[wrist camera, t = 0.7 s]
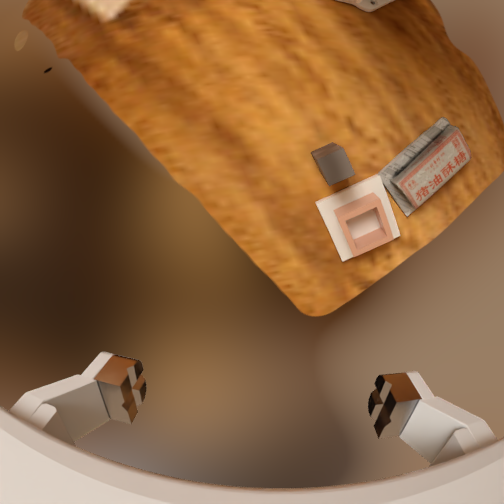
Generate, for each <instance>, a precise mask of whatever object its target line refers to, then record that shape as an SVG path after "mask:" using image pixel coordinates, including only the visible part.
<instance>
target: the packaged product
mask: <svg viewBox="0 0 504 504" xmlns="http://www.w3.org/2000/svg"><path fill="white" fill-rule="evenodd" d="M470 159H471V151H470V149H469V148H468V145H467V143H466V142H465V139H464V137H463V135H462V134H461V132H460V130H459V128H458V127H456V126H452V125H450V123H449V121H448V119H446V118H444V117H441V118H440V119H439V120H438V121H437V122H436V123H435V124H434V125H433V126H431V127H430V128H429V129H428V130H426V131H425V132H424V133H423V134H421V135H420V136H419V137H418V138H417V139H416V140H414V141H413V142H412V143H411V144H410V145H408V146H407V147H406V148H405V149H404V150H403V151H402V152H401V153H399V154H398V155H397V156H396V157H395V158H394V159H393V160H392V161H391V162H390V163H388V164H387V165H386V166H385V167H384V168H383V169H382V170H381V171H380V172H379V173H378V176H379V175H380V178H381V180H382V183H383V185H384V186H385V187H386V188H387V189H388V191H389V192H390V194H391V196H392V197H393V199H394V200H395V202H396V203H397V205H398V206H399V208H400V209H401V210H402V211H403V212H404V213H405V215H406V216H407V217H408V216H409V215H410V214H411V213H412V212H413V211H415V210H416V209H417V208H418V207H420V206H421V205H422V204H423V203H424V202H425V201H426V200H428V199H429V198H430V197H431V196H432V195H433V194H434V193H435V192H436V191H438V190H439V189H440V188H441V187H442V186H443V185H444V184H445V183H446V182H447V181H448V180H449V179H450V178H452V177H453V176H454V175H455V174H456V173H457V172H458V171H459V170H460V169H461V168H462V167H463V166H464V165H465V164H466V163H467V162H468V161H470Z"/></svg>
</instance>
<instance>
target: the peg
mask: <svg viewBox="0 0 504 504" xmlns="http://www.w3.org/2000/svg"><path fill="white" fill-rule="evenodd" d="M311 154H312V156H313V158H314V160H315V162H316V164H317V166H318V168H319V170H320V172H321V174H322V175H323V177H324V179H325V180H326V182H327V183H328V185H329V186H331V185H333V184H335V183H337V182H340V181H342V180H344V179H346V178H349V177H351V176H353V175H355V173H354V170H353V168H352V166H351V164H350V161H349V159H348V157H347V155H346V153H345V150H344V148H343V147H341V146H339V145H337V144H335V143H333V142H332V143H330V144H328V145H326V146H323V147H321V148H319V149H317V150H315V151H313V152H311Z"/></svg>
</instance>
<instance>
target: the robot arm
mask: <svg viewBox="0 0 504 504" xmlns="http://www.w3.org/2000/svg"><path fill="white" fill-rule="evenodd" d="M337 1H341V2H346V3H350V4H353V5H355V6H356V7H358V8H360V9H362V10H364V11H366V12H372V11H374V10H376V9H378V8H380V7H382V6H384V5H386V4H388V3H390V2H393V1H395V0H337ZM371 2H373V3H374V5H373V4H371ZM142 371H143V365H142V362H141V361H140V360H137V359H133V358H128V357H124V356H120V355H115V354H111V353H107V352H101V353H100V354H99V355H98V356H97V358H96V359H95V360H94V361H93V362H92V363H91V364H90V365H89V367H88V368H87V369H86V370H85V371H84V372H83V373H82V375H81V376H80V375H75V376H72V377H70V378H67V379H64V380H61V381H58V382H55V383H53V384H50V385H47V386H44V387H41V388H38V389H35V390H32V391H29V392H26V393H25V394H24V395H23V396H22V397H21V398H20V399H19V400H18V402H17V403H16V404H15V405H14V406H13V407H12V408H11V409H10V410H9V411H8V410H6V409H5V408H3V407H2V406H0V504H504V437H503V438H501V439H499V440H497V438H496V437H495V435H494V434H493V432H492V431H491V429H490V428H489V426H488V425H487V423H486V422H485V421H484V420H483V419H481V418H479V417H477V416H475V415H473V414H471V413H469V412H467V411H465V410H463V409H461V408H459V407H457V406H455V405H454V404H452V403H450V402H448V401H446V400H444V399H442V398H440V397H438V396H437V397H434V395H433V394H432V392H431V391H430V389H429V388H428V386H427V385H426V383H425V382H424V380H423V379H422V377H421V376H420V374H419V373H418V372H417V371H409V372H404V373H395V374H385V375H379V376H378V377H377V378H376V381H375V386H376V389H375V390H374V391H373V392H372V393H371V394H370V397H369V401H368V411H369V414H370V417H371V418H372V419H374V420H375V421H376V422H375V424H374V428H375V431H376V433H377V436H378V439H382V438H390V437H396V436H400V438H401V439H402V440H403V441H405V442H406V443H407V444H408V445H409V446H410V447H412V448H413V449H414V450H415V451H416V452H418V453H419V454H420V455H421V456H422V457H424V458H425V459H426V460H427V461H429V462H430V463H431V464H430V466H429V467H428V468H424V469H421V470H417V471H413V472H409V473H406V474H401V475H397V476H393V477H388V478H383V479H378V480H372V481H367V482H360V483H354V484H346V485H338V486H327V487H314V488H291V489H290V488H284V489H283V488H282V489H281V488H276V489H275V488H274V489H273V488H250V487H237V486H227V485H226V486H225V485H218V484H210V483H203V482H197V481H191V480H185V479H180V478H175V477H170V476H166V475H162V474H157V473H153V472H149V471H145V470H142V469H138V468H135V467H131V466H128V465H125V464H122V463H118V462H115V461H113V460H110V459H107V458H104V457H101V456H98V455H96V454H93V453H91V452H88V451H86V450H83V449H80V448H78V447H76V445H75V443H74V442H75V441H76V440H78V439H80V438H81V437H83V436H85V435H86V434H88V433H90V432H91V431H93V430H95V429H96V428H98V427H99V426H101V425H103V424H104V423H106V422H107V421H109V420H110V419H113V420H117V421H121V422H124V423H128V424H132V422H133V420H134V418H135V417H136V415H137V413H138V410H137V406H138V405H140V404H142V403H143V401H144V399H145V395H146V380H145V378H144V377H143V376H142V375H141V373H142Z"/></svg>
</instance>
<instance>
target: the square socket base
mask: <svg viewBox="0 0 504 504" xmlns="http://www.w3.org/2000/svg"><path fill="white" fill-rule="evenodd" d="M316 205H317V207H318V209H319V211H320V213H321V215H322V217H323V219H324V222H325V224H326V226H327V228H328V230H329V232H330V235H331V237H332V239H333V241H334V244H335V246H336V248H337V250H338V253H339V255H340V257H341V260H342V262H343V261H345V260H347V259H350V258H352V257H356V256H358V255H360V254H363V253H365V252H367V251H369V250H372V249H374V248H376V247H378V246H380V245H383V244H385V243H387V242H389V241H391V240H394V238H396V237H399V236H400V233H399V229H398V226H397V223H396V220H395V217H394V214H393V211H392V208H391V205H390V202H389V199H388V196H387V194H386V191H385V188H384V185H383V183H382V180H381V178H380V175H379V176H378V174H376V175H374V176H372V177H370V178H367V179H365V180H363V181H361V182H358V183H356V184H354V185H352V186H350V187H347V188H345V189H343V190H341V191H338V192H336V193H334V194H332V195H330V196H327V197H325V198H323V199H321V200H319V201H317V202H316Z"/></svg>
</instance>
